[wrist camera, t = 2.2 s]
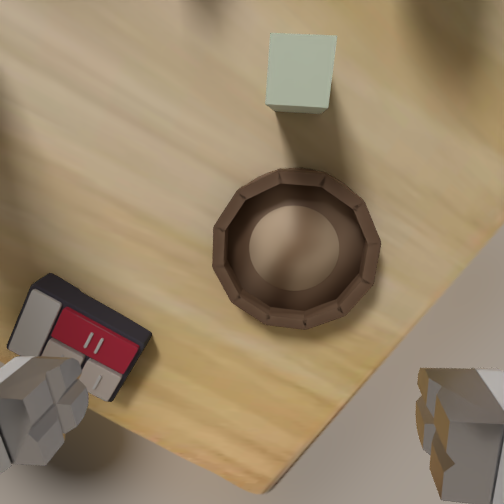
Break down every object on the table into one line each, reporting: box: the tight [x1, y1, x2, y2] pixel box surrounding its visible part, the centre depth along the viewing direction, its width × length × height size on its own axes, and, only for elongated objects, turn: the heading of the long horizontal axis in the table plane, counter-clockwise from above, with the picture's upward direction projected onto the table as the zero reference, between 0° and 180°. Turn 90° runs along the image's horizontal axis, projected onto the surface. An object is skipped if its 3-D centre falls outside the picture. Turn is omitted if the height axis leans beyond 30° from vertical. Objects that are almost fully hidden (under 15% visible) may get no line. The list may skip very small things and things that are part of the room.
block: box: [265, 33, 337, 114], centre depth 30 cm, size 4×4×10 cm
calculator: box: [7, 273, 152, 402], centre depth 45 cm, size 11×4×15 cm
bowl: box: [212, 168, 381, 330], centre depth 38 cm, size 17×17×3 cm
